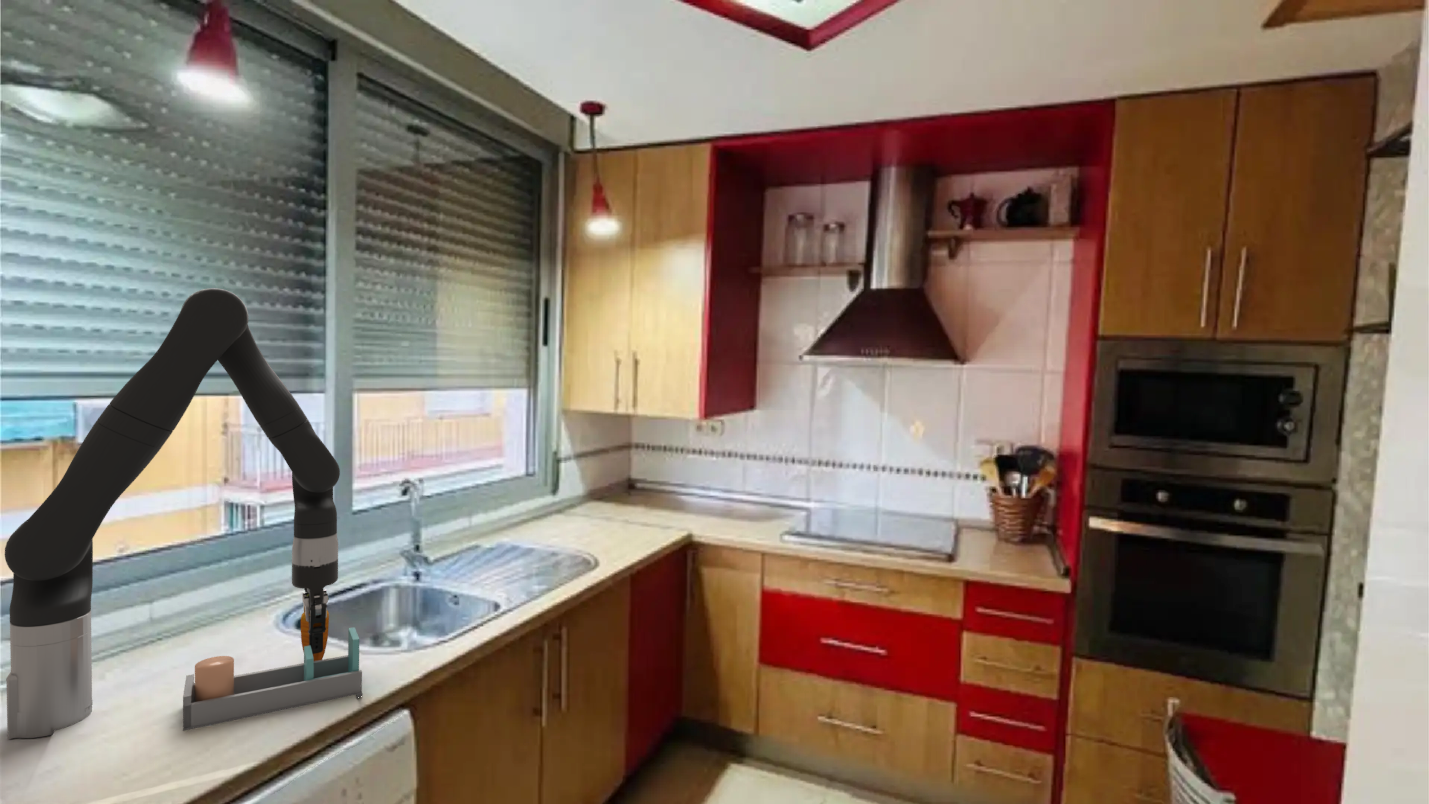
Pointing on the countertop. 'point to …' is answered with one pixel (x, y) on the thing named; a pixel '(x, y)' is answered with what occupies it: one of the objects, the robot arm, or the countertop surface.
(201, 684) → the pink cylinder
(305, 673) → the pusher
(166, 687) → the countertop surface
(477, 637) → the countertop surface
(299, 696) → the tray
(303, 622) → the carrot
